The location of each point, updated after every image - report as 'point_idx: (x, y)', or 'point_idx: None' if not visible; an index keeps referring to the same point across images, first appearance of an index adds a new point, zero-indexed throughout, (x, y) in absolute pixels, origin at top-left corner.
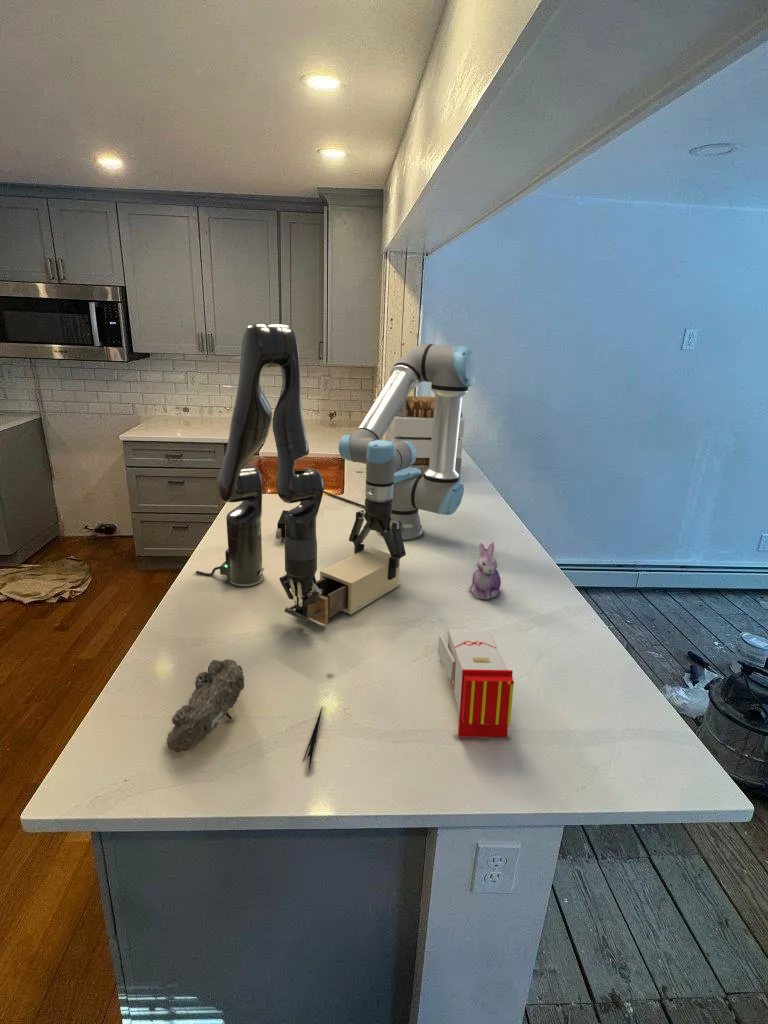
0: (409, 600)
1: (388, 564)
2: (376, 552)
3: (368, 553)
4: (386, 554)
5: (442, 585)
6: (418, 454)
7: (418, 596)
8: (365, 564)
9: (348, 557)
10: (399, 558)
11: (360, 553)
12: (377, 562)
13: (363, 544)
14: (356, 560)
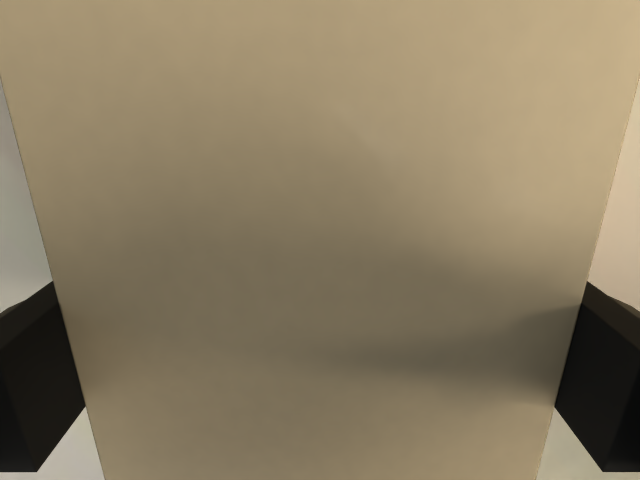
0: (30, 211)
1: (65, 292)
2: (385, 435)
3: (447, 360)
4: (262, 460)
5: (54, 451)
6: None
7: (37, 285)
8: (255, 45)
9: (635, 66)
10: (108, 473)
11: (538, 299)
12: (177, 229)
13: (613, 463)
14: (461, 65)
